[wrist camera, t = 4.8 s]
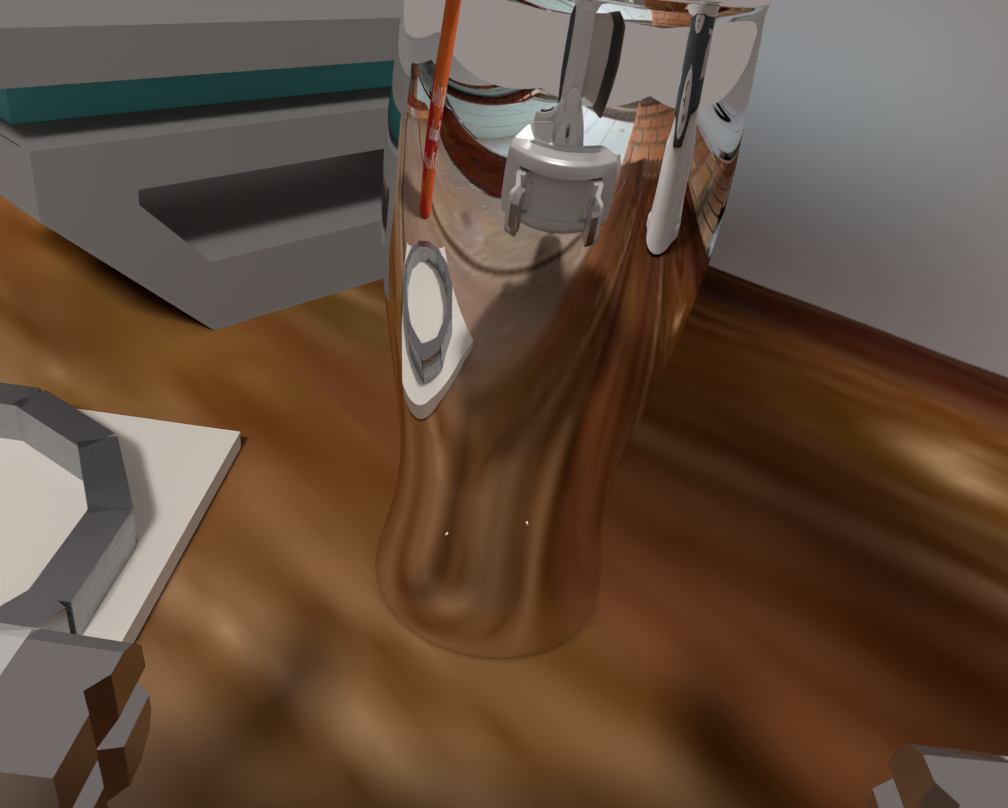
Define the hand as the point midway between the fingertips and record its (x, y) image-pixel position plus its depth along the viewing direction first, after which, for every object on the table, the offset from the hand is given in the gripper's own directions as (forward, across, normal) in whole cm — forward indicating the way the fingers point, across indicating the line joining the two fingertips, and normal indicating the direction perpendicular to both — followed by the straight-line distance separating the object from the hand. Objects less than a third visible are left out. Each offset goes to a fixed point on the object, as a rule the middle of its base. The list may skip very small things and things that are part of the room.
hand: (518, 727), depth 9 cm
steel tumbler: (+11, 0, +9) cm, 14 cm away
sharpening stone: (+29, +11, +9) cm, 32 cm away
